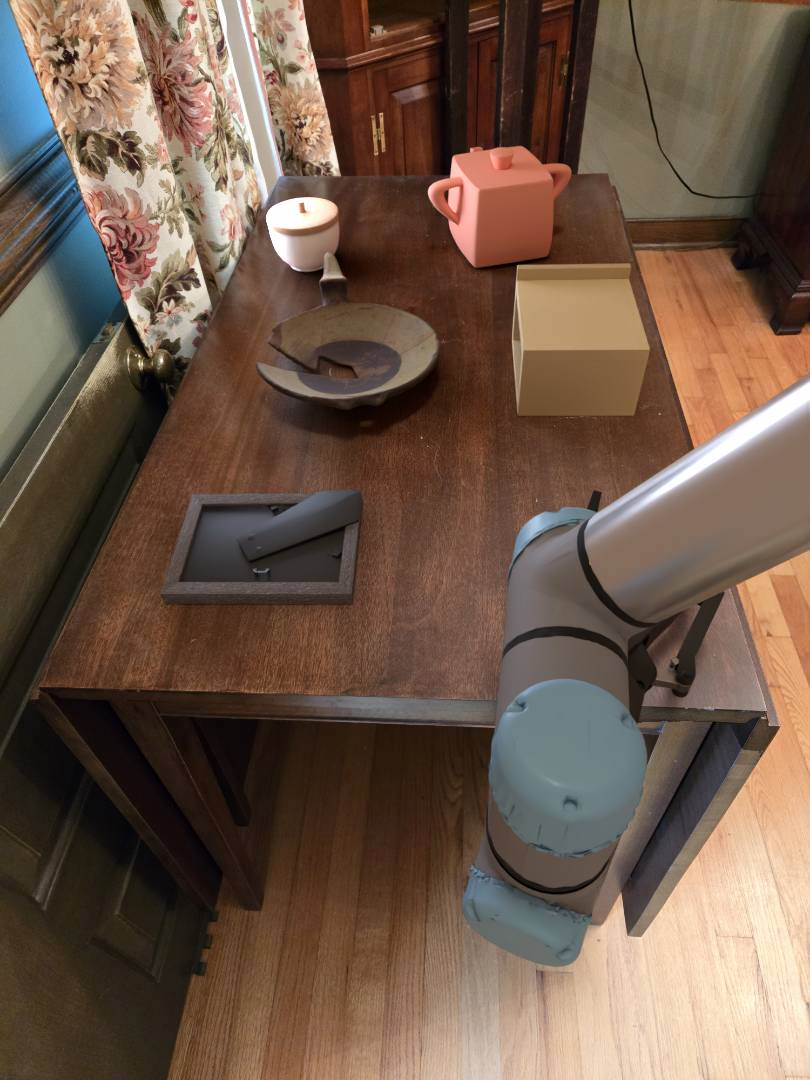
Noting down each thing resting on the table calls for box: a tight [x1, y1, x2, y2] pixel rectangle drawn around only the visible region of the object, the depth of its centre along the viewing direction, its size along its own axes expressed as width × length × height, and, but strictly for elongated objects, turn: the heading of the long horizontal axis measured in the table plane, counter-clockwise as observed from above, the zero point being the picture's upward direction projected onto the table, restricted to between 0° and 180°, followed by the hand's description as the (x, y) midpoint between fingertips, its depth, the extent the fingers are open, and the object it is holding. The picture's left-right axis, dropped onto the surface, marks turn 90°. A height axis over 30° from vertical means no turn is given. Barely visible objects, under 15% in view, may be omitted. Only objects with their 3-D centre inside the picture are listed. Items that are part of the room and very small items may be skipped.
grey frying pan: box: [255, 252, 441, 411], centre depth 91 cm, size 22×30×8 cm
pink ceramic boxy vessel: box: [427, 145, 573, 268], centre depth 110 cm, size 20×22×14 cm
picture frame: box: [159, 489, 364, 605], centre depth 72 cm, size 13×2×18 cm
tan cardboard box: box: [511, 262, 651, 417], centre depth 86 cm, size 14×16×10 cm
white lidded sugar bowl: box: [265, 196, 340, 273], centre depth 109 cm, size 11×11×9 cm
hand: (643, 513), depth 66 cm, fingers closed on decorative egg, 8 cm apart
